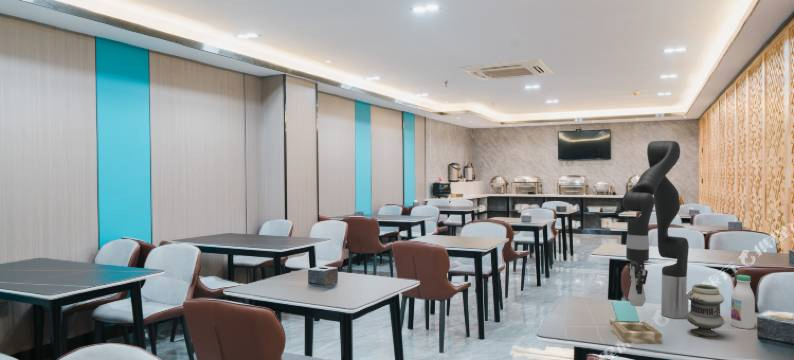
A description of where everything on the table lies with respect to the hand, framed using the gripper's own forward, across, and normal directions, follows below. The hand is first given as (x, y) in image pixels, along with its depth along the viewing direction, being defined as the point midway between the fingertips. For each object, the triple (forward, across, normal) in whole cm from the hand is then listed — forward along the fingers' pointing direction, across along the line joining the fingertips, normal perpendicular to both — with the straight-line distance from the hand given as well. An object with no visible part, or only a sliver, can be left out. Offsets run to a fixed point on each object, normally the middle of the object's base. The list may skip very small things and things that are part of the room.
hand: (636, 293), depth 191 cm
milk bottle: (+16, +17, -47) cm, 52 cm away
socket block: (+16, +4, 0) cm, 17 cm away
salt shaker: (+4, 0, 0) cm, 4 cm away
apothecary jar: (+16, +6, -27) cm, 32 cm away
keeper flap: (+10, +11, 0) cm, 15 cm away
